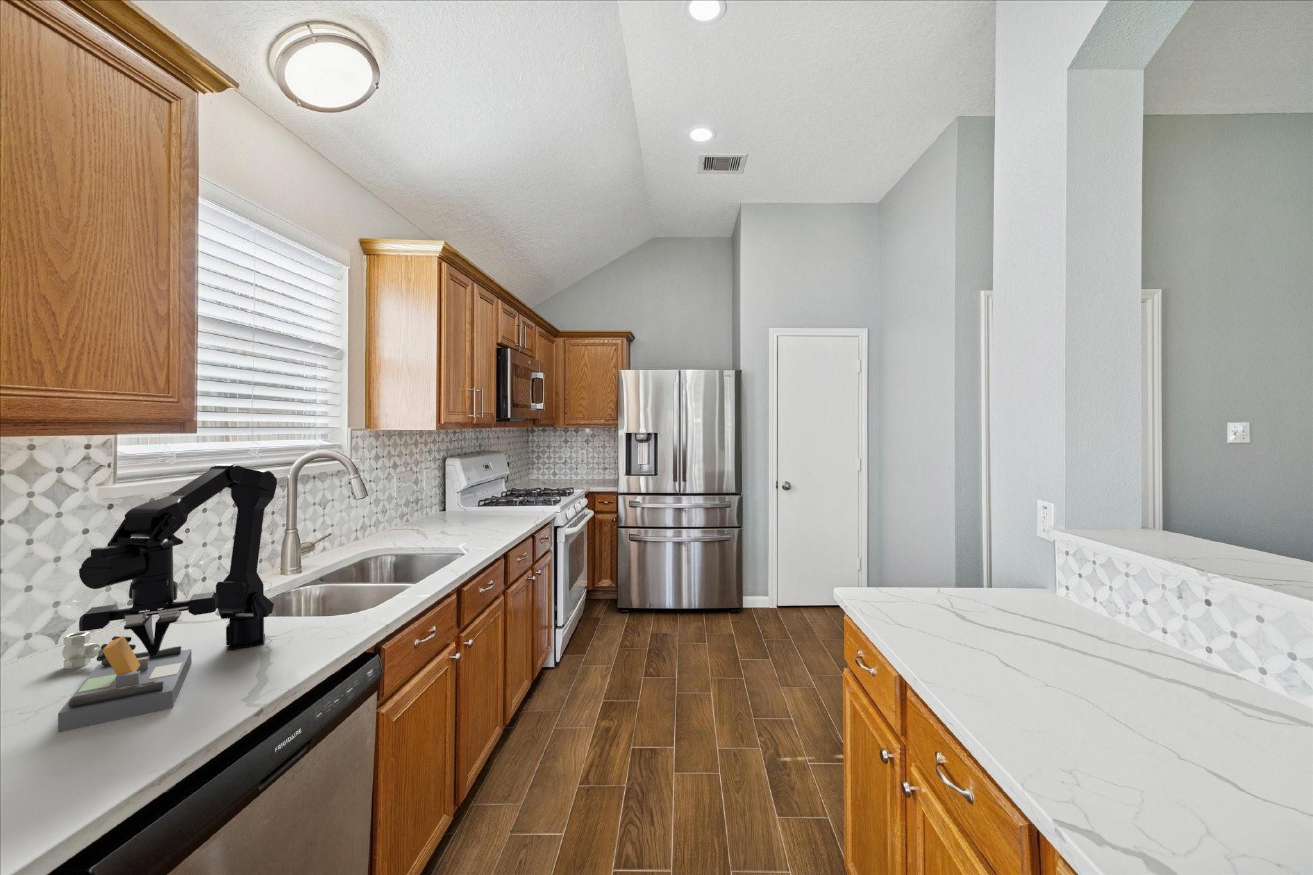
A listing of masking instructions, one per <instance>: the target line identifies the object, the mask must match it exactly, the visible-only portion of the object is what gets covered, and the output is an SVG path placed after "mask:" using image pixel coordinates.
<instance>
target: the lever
mask: <svg viewBox="0 0 1313 875" xmlns="http://www.w3.org/2000/svg"><path fill="white" fill-rule="evenodd" d="M125 637H126V636H124V635H122V636H120V638H117V639H115V640H111V641H109V642H108V643H107V644H108V645H107V646H106V647H105V648H104V649H103V650H102V651H103V653H104V655H105V656H106V658H107V660H108V661H109V663H110V665H111V666H112V668H113V670H114V671H115V673H116V675H119V674H125V673H130V672H136V671H137V669H138V668H139V666H140V663H139V661H138V659H137V658H136V656H135V654H136V653H134V650H132V649H131V647H130V646H129V643H128V642H127V641H126V639H125Z"/></svg>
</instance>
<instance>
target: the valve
mask: <svg viewBox="0 0 1313 875" xmlns="http://www.w3.org/2000/svg"><path fill="white" fill-rule="evenodd" d="M120 637H121V636H117V635H116V636H115V635H114V636H113V637H112V638H111V641H113V640H115V639H117V638H120ZM124 637H125V639H126V641H127V642H128V644H129V643H130V642H131V641H132V640H133V639H132V637H131V636H124ZM90 640H91V631H78V632H76V631H75V632H71V633H68V634H67V635H65V636H64V637H63V646H64V647H63V648H62V651H61V654H62V657H63V669H66V670H74V669H79V668H82V667H86V666H87V665H89V664H90V663H91V659H93V658H96V661H97V662H102V660H104V659H106V656H105V655H104V653H103V651H102V650H103V649H104V648H105V647H106V646H107V645H108V643H103V644H102V645H101V646H100V644H99V643H95V642H90ZM129 646H130V647H131V649H132V651H134V650H135V649H136V647H137V646H136V644H134V643H133V644H129ZM88 663H89V664H88ZM85 665H86V666H85ZM78 667H79V668H78Z"/></svg>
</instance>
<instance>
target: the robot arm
mask: <svg viewBox="0 0 1313 875" xmlns="http://www.w3.org/2000/svg"><path fill="white" fill-rule="evenodd" d="M277 485H278V479H277V477H276V476H275V475H274V473H273V472H271V471H270V470H256V469H252V468H247V467H243V466H241V465H237V464H233V463H231V464H230V463H229V464H226V463H223V464H222V463H221V464H214V465H212V466H211V467H210V468H209V469H208V470H207V471H206V472H204V473H203V474H202V473H201V475H199V476H198V477H195V479H193V480H192V481H190V482H188V483H186V484H185V485H183V486H182V487H180V488H179V489H177V490H176V491H174V492H172V493H170V494H169V495H166V496H165V497H162V498H159V499H154V500H151V501H147V502H144V503H142V504H139V505H137V506H135V507H133V508H130V509H129V510H128V511H127V512H125V514H124V519H123V520H122V522H121V523H120V525H119V526H118V528H117V529H116V531H115V532H114V533H113V535H112V537H111V539H110V540H109V541H108V543H107V546H104V547H96V548H91V550H90V556H89V557H86V559H85V560H83V562H82V564H81V566H80V567H79V569H78V576H79V578H80V581H81V582H82V584H83V585H84V586H86V587H87V588H89V589H93V590H98V589H103V588H106V587H111V586H113V585H118V584H121V583H124V582H127V581H131V582H130V585H129V589H128V592H129V593H128V598H129V600H132V602H131V603H132V604H131V605H132V607H126V608H119V606H118V604H117V603H116V604H110V605H109V604H108V605H102V606H95V607H94V606H93V607H91V608H90V609H88V610H87V611H86V612H85V613H84V614H82V615H81V616H80V617H79V622H78V626H79V627H78V632H82V631H87V632H90V631H94V630H95V631H96V630H100V629H104V628H105V627H106V626H107V625H109V624H110V622H111V621H113V622H114V621H120V620H124V622H125V625H124V626H123V629H124V630H131V631H132V632H133V633H134V634H135V635H136V637H137V638H138V639H139V640H140V641H141V643H142V644H143V646H144V648H145V649H146V652H148V653H149V654H150V656H157V654H158V652H159V650H160V649H161V647H162V643H163V640H164V639H165V638H164V637H165V635H166V633H167V630H168V628H169V627H170V625H171V624H173V623H174V624H175V623H177V621H179V618H180V617H181V615H182V612H185V611H188V613H190V615H192V616H199V615H205V614H206V615H207V614H212V613H215V612H216V611H218V614H219V616H220V619H221V620H226V619H227V620H229V621H228V623H227V624H226V627H225V645H226V646H228V647H227V650H229V651H232V650H236V649H243V648H248V647H252V646H253V647H254V646H260V645H264V644H265V640H266V639H265V638H266V633H265V618H267V617H269V615H271V614H272V613H273V610H274V606H275V605H274V602H272V601H271V599H269V598H268V596H266V595H264V587H265V586H264V582H263V580H262V579H261V577H260V575H259V573H258V564H259V556H260V547H261V540H262V531H263V523H264V516H265V515H264V514H265V509H266V508H267V507H268V506H269V505H270V503H271V502H272V500H273V499H274V497H275V495H276V490H277ZM225 489H230V497H231V500H232V502H233V503H234V505H235V507H236V509H237V513H236V521H235V528H234V537H233V544H232V552H231V560H230V566H229V567H230V568H229V573H228V575H227V576H226V577H225V578H224V579H223V581H217V583H216V585H215V591H212V592H204V593H194V594H192V595H191V597H190V599H187V600H180V601H176V600H177V599H178V587H179V584H178V582H176V581H174V547H175V546H179V545H183V544H184V540H183V539H181V538H179V537H177V536H176V535H175V534H176V533H177V532H178V531H179V530H180V529H181V528H182V527H183V526H184V525H185V524H186V523H187V522H188V517H189V515H190V514H191V513H192V512H193V511H195V510H196V509H197V508H199V507H200V506H202V505H203V504H205V503H206V502H207V501H209V500H210V499H213V497H214V496H216V495H217V494H219V493H220V492H222V491H224V490H225ZM157 615H158V617H159V618H158V619H157V620H156V622H155V623H154V624H155V625H154V631H153V616H157Z"/></svg>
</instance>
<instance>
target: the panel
mask: <svg viewBox="0 0 1313 875" xmlns="http://www.w3.org/2000/svg"><path fill="white" fill-rule="evenodd" d="M134 654H135V656H136V658H137V659H138V661H139V663H140V666H139V668H138V669H137V671H136V672H130V673H125V674H119V675H116V673H115V671H114V670H113V668H112V666H111V665H110V663H109V661H108V660H107V658H106V659H104V660H102V661H100V662H101V664H97V665H96V666H95V668H94V669H92V671H91V673H90V674H89V675H88V676H87V677H86V678H85V680H84V681H83V682H82V683H81V685H80V686H79V687H78V689H77V690H76V691H75V692H74V693H73V694H72V696H71V697H70V698H69V699H68V701H66V703H65V704H64V705H63V707H62V708H61V709H60V710H59V711H58V712H57V723H58V724H57V732H59V733H60V732H63V731H69V730H75V729H77V728H78V729H79V728H82V727H88V726H92V725H96V724H102V723H106V722H111V721H115V720H120V719H125V718H129V717H134V716H135V717H136V716H140V715H144V714H148V713H149V714H150V713H153V712H157V711H158V712H159V711H163V710H167V709H168V710H169V709H173V707H174V705H175V703H176V701H177V698H178V696H179V693H180V691H181V689H182V686H183V684H184V682H185V679H186V676H187V675H188V672H189V670H190V668H191V665H192V649H191V648H190V649H183V650H182V646H181V645H179V646H172V647H167V648H162V649H161V648H160V649H159V652H158V654H157V656H150V654H149V653H148V651H144V652H137V653H134Z"/></svg>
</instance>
